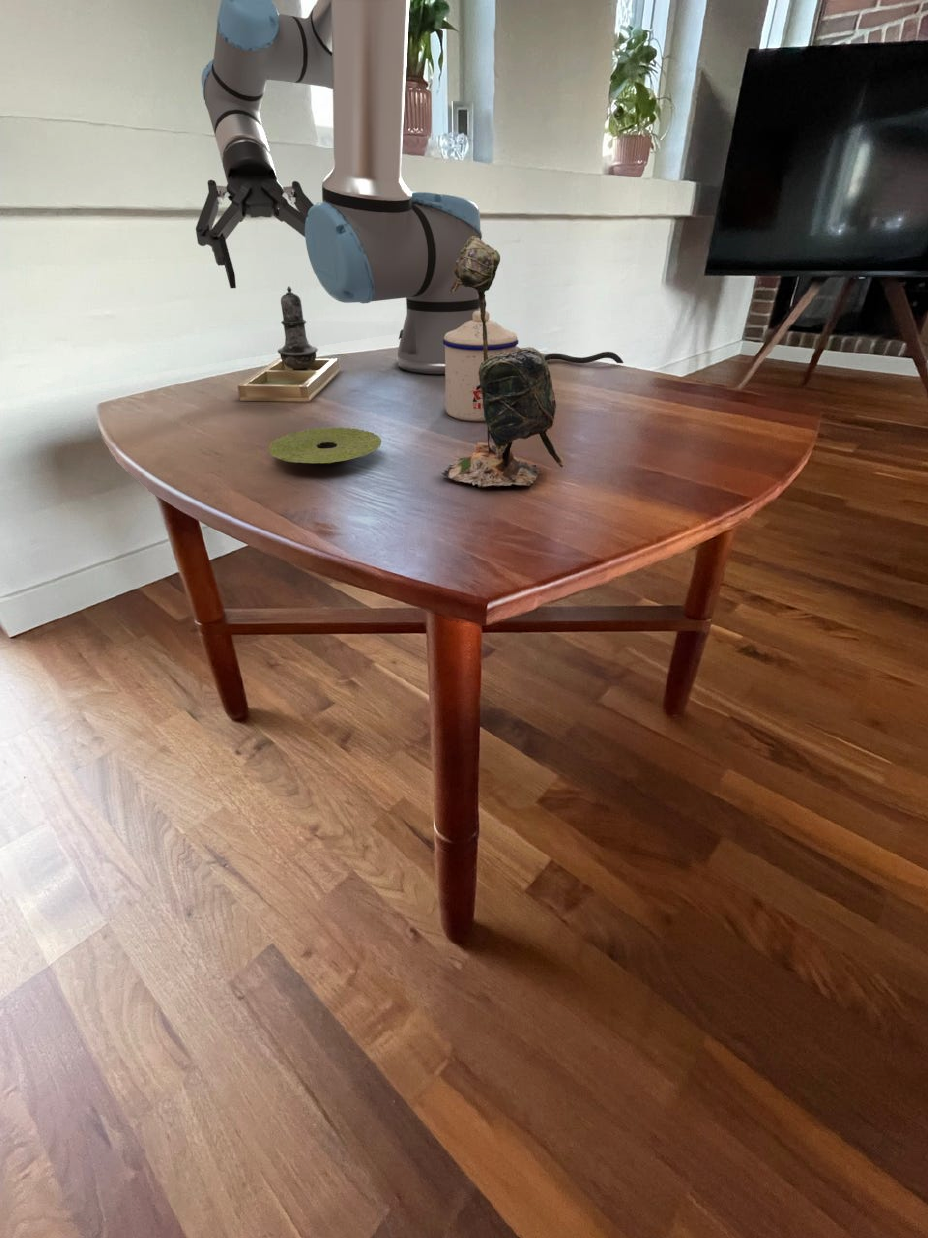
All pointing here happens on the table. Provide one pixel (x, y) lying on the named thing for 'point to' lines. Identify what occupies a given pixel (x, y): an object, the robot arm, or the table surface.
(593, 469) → the table surface
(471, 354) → the teacup with lid
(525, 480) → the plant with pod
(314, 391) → the wooden divided tray
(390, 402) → the table surface
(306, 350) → the salt shaker
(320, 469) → the table surface
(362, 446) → the mat
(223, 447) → the table surface
